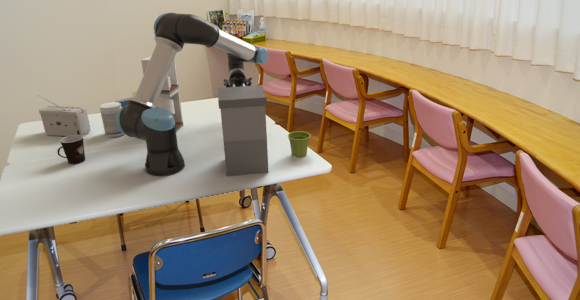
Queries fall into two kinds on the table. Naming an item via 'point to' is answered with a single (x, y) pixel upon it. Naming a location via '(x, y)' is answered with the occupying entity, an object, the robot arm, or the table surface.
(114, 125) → the supplement tub
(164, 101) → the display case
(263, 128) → the grey box
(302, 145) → the plant pot
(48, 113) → the stereo radio cassette player
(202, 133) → the table surface
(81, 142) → the coffee mug
